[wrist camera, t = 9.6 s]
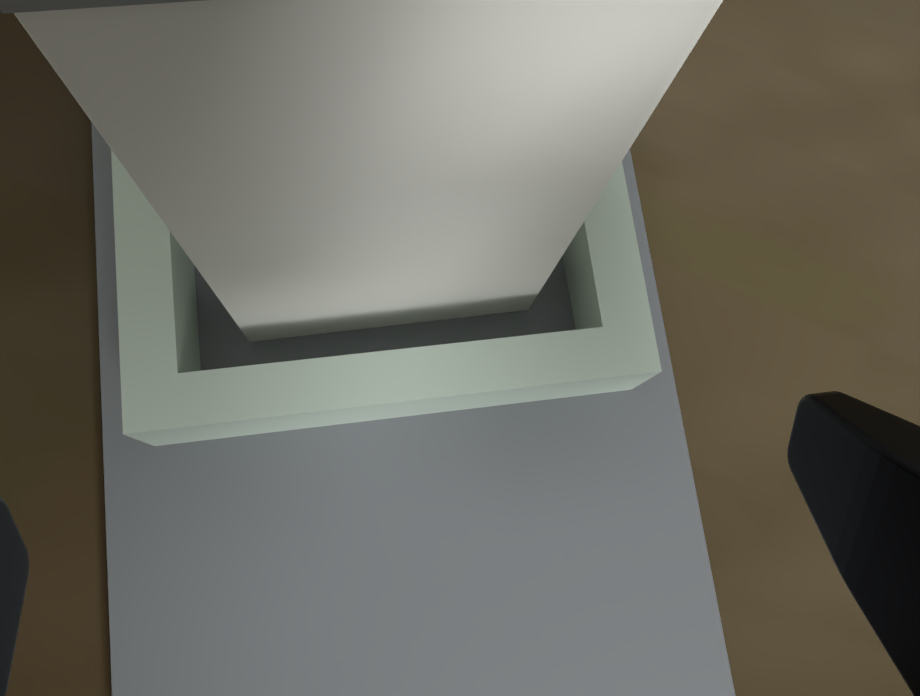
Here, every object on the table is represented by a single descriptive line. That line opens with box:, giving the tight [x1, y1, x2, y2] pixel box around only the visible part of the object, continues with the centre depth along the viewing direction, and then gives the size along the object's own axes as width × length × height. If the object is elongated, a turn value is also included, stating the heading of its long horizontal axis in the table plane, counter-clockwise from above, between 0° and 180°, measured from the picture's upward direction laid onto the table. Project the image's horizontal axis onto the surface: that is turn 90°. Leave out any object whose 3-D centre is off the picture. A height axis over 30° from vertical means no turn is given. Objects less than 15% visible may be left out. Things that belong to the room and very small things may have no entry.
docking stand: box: [91, 122, 735, 696], centre depth 16 cm, size 18×12×3 cm, turn 7°
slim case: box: [0, 0, 723, 342], centre depth 12 cm, size 6×4×12 cm
